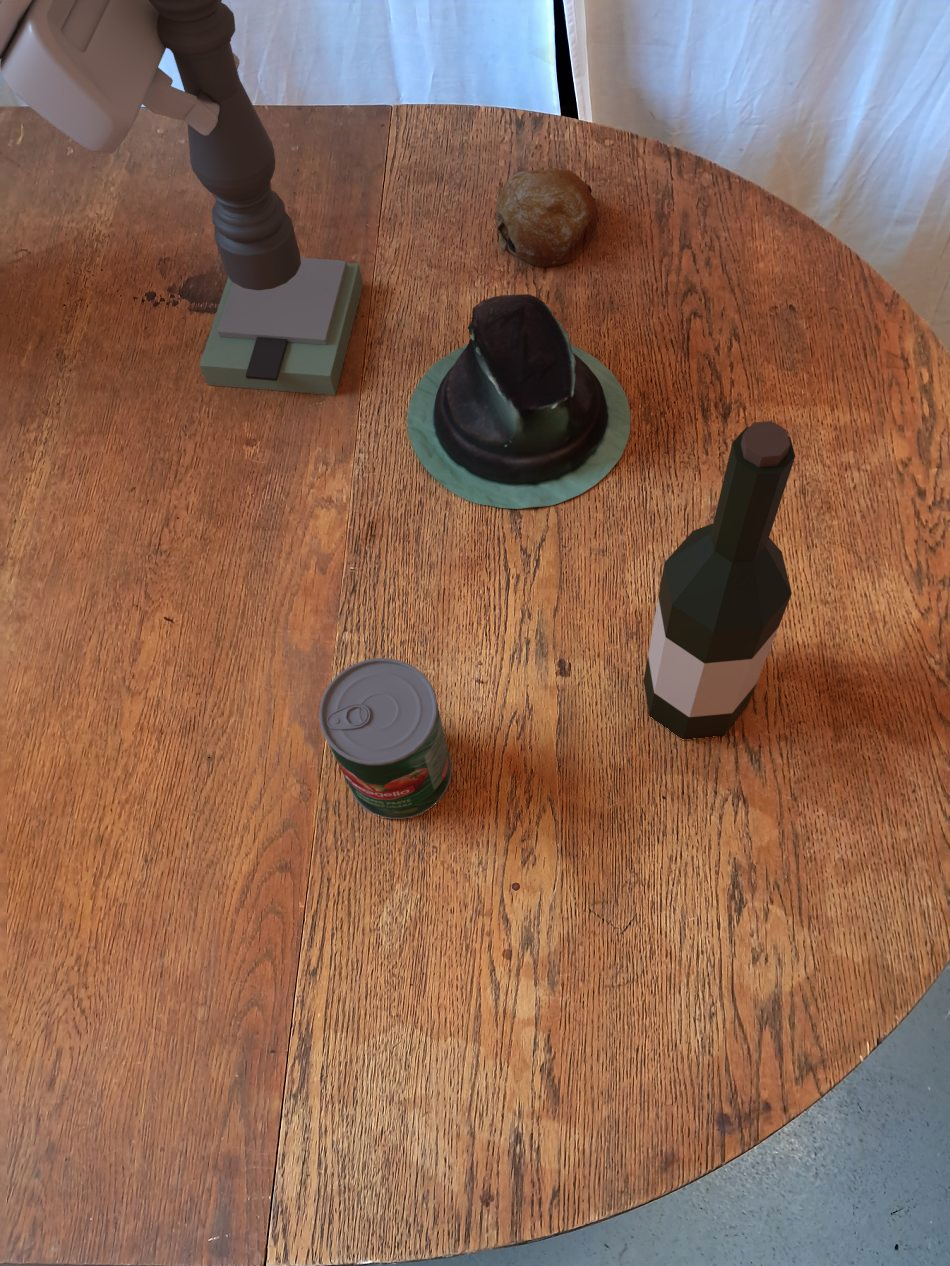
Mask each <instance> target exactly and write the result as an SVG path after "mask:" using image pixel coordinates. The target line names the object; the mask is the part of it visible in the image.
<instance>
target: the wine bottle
mask: <svg viewBox="0 0 950 1266" xmlns="http://www.w3.org/2000/svg"><path fill="white" fill-rule="evenodd" d="M795 459H796V453H795V448H794V446H793V442H792V437H791V436H789V433H788V430H787V429H786V428H785V427H783V426H781V425H779V424H777V423H776V422H774V421H773V420H766V421H755V422H752V423H751V424H750V426H746V427H744V429H743V430H742V431H741V432H740V434H738V436H737V437H735V439H734V440H732V443H731V446H730V451H729V455H728V459H727V464H726V467H725V472H724V476H723V479H722V484H721V487H720V493H719V497H718V500H717V505H716V509H715V513H714V518H713V522H712V523H710V524H707V525H705V526H702V527H699V528H696V529H694V530H692V531H691V532H690V533H689V535H687V537H686V538H685V539H684V540H683V541H682V543H680V545H679V546H678V547H677V548H676V549H675V550H674V551H673V552H672V553H671V554H670V556H669V557H668V558H667V559H666V560H665V561H664V563H663V567H662V568H663V569H662V574H661V580H660V584H659V585H660V586H659V590H658V591H659V592H658V597H657V603H656V606H655V607H656V608H655V613H654V619H653V625H652V631H651V637H650V642H649V646H648V647H649V648H648V654H647V657H646V658H647V659H646V665H645V669H644V676H643V686H645V687H644V691H645V698H647V699H646V705H647V704H648V705H647V710H649V711H648V717H649V716H650V717H652V718H653V719H654V720H653V719H652V718H651V719H652V720H653V721H655V722H656V721H657V722H659V723H660V724H662V725H663V726H664V727H663V726H662V725H661V726H662V727H663V728H665V727H666V728H668V729H669V730H670V731H671V732H670V731H669V730H668V731H669V732H670V733H672V732H673V733H674V734H676V735H677V736H678V737H677V736H676V735H675V736H676V737H677V738H679V737H680V738H682V739H691V740H694V739H693V738H702V739H706V738H705V737H712V738H714V737H713V736H722V737H724V736H725V735H727V733H728V732H729V730H730V729H731V728H732V727H733V726H734V724H735V723H736V722H737V721H738V719H739V718H740V717H741V716H742V715H743V713H744V712H745V711H746V710H747V708H748V706H749V704H750V701H751V699H752V696H753V693H754V690H755V688H756V686H757V683H758V681H759V678H760V676H761V673H762V671H763V667H764V665H765V663H766V661H767V658H768V655H769V652H770V650H771V648H772V645H773V643H774V640H775V638H776V635H777V632H778V629H779V628H780V625H781V622H782V620H783V617H784V616H785V615H784V614H785V613H786V609H787V607H788V604H789V602H790V599H791V597H792V594H793V592H792V588H791V584H790V580H789V576H788V572H787V567H786V564H785V559H784V555H783V551H782V550H781V549H780V548H779V546H778V545H777V544H776V543H775V542H774V540H773V539H771V537H770V535H771V533H772V530H773V527H774V524H775V521H776V517H777V514H778V511H779V508H780V506H781V502H782V498H783V495H784V493H785V489H786V487H787V483H788V480H789V478H790V475H791V471H792V468H793V465H794V463H795ZM744 710H745V711H744ZM743 711H744V712H743ZM742 712H743V713H742ZM740 715H741V716H740ZM739 716H740V717H739ZM650 717H649V718H650ZM738 717H739V718H738ZM735 721H736V722H735ZM657 722H656V723H657ZM659 723H658V724H659ZM660 724H659V725H660ZM731 726H732V727H731ZM666 728H665V729H666ZM727 731H728V732H727ZM726 732H727V733H726ZM673 733H672V734H673ZM674 734H673V735H674ZM680 738H679V739H680ZM682 739H681V740H682Z"/></svg>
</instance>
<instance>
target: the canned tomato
mask: <svg viewBox="0 0 950 1266" xmlns="http://www.w3.org/2000/svg"><path fill="white" fill-rule="evenodd" d="M438 705H439V704H438V699H437V694H436V692H435V690H434V687H433V685H432V683H431V682H430V681H429V679H428V678H427V676H426V675H425V674H424V673H423V672H422V671H420V670H419V669H418V668H416V667H415V666H414V665H412V664H409V663H408V662H405V661H402V660H400V659H394V658H388V657H379V658H378V657H376V658H375V657H374V658H369V659H364V660H362V661H359V662H357V663H353V664H352V665H350V666H348V667H347V668H345V669H343V670H342V671H341V672H340V673H338V674H337V675H336V676H334V678H333V679H332V681H331V682H330V683H329V684H328V686H326V689H325V691H324V693H323V694H322V697H321V701H320V704H319V710H318V711H319V712H318V718H319V726H320V730H321V732H322V735H323V737H324V738H325V740H326V742H327V743H328V746H329V749H330V751H331V752H332V754H333V757H334V758H335V761H336V763H337V765H338V766H339V769H340V770H341V772H342V775H343V776H344V778H345V782H346V783H347V785H348V787H349V789H350V791H351V794H352V796H353V797H354V799H355V800H356V802H357V803H358V804H359V806H361V808H363V809H364V810H365V811H366V812H368V811H369V812H368V813H370V814H371V813H372V814H371V815H373V814H375V815H377V816H376V817H378V815H379V816H380V817H379V818H381V817H384V818H388V819H387V820H390V819H389V818H391V819H405V818H410V819H412V818H411V817H414V818H416V817H415V816H417V815H419V814H422V813H424V812H425V811H426V810H428V809H430V808H431V807H433V806H434V804H435V803H437V802H438V801H439V800H440V799H441V800H442V798H443V797H444V796H445V794H446V793H447V790H448V788H449V786H450V782H451V780H452V775H453V774H452V770H453V769H452V768H453V767H452V766H453V763H452V758H451V755H450V753H449V748H448V743H447V740H446V739H447V738H446V736H445V735H446V734H445V731H444V727H443V723H442V718H441V714H440V710H439V706H438ZM445 792H446V793H445ZM444 793H445V794H444ZM443 795H444V796H443ZM442 796H443V797H442ZM441 797H442V798H441ZM441 800H440V801H441ZM440 801H439V802H440ZM439 802H438V803H439ZM438 803H437V804H438ZM434 807H435V806H434ZM434 807H433V808H434ZM430 810H431V809H430ZM428 811H429V810H428ZM425 813H426V812H425ZM425 813H424V814H425ZM375 815H374V816H375ZM422 815H423V814H422ZM419 816H420V815H419ZM417 817H418V816H417ZM384 818H383V819H384ZM405 820H406V819H405Z"/></svg>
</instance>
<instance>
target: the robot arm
mask: <svg viewBox="0 0 950 1266" xmlns="http://www.w3.org/2000/svg"><path fill="white" fill-rule="evenodd" d="M158 16H159V13H158V11H157V10H156V9H155V7H154V6H153V5H152V4H151V3H150V2H149V0H0V71H1V75H2V79H4V81H5V83H6V85H7V86H8V88H10V89H11V91H12V92H13V93H14V94H15V95H16V96H17V97H18V98H19V99H20V100H21V101H22V102H23V103H24V104H26V105H27V106H28V107H29V108H30V109H32V110H33V111H35V113H37V114H38V115H40V116H41V117H42V118H43V119H44V120H46V121H47V122H48V123H50V124H51V125H52V126H53V127H55V128H56V129H58V130H59V131H60V132H61V133H63V134H64V135H66V136H67V137H69V138H70V139H71V140H73V141H74V142H76V143H77V144H78V145H80V146H81V147H83V148H84V149H87V150H89V151H91V152H94V153H101V154H106V155H107V154H108V155H110V154H111V155H112V154H115V152H116V151H117V150H118V148H119V147H120V146H121V144H122V143H123V142H124V140H125V139H126V137H127V136H128V134H129V133H130V131H131V130H132V128H133V126H134V125H135V122H136V119H137V117H138V115H139V113H140V110H141V108H142V106H144V107H145V108H147V110H149V111H150V112H151V113H153V114H155V115H159V116H163V117H167V118H170V119H175V120H178V121H184V122H185V123H186V124H187V125H188V124H189V125H190V126H191V127H193V128H194V129H195V130H196V131H198V132H199V133H200V134H202V135H209V134H210V133H211V131H212V130H213V129H214V128H215V126H216V124H217V122H218V119H219V116H220V113H221V108H220V106H219V104H217V103H216V102H215V101H212V100H211V99H210V97H209V96H208V95H207V94H205V93H204V92H203V91H202V90H200V91H199V93H198V94H197V95H196V96H194V95H192V94H189V93H187V92H185V91H184V90H181V89H179V88H177V87H174V86H172V85H173V82H174V80H173V78H172V77H171V76H169V74H167V73H166V72H164V71H163V70H162V69H161V68H160V67H159V66H160V64H161V61H162V59H163V57H164V55H165V52H166V50H167V48H166V47H164V45H163V44H162V42H161V40H160V38H159V36H158V32H157V20H158ZM233 55H234V59H235V63H236V67H237V70H238V69H239V66H240V59H239V56H238V55H236V54H235V53H234V52H233Z"/></svg>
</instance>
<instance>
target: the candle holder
mask: <svg viewBox="0 0 950 1266" xmlns="http://www.w3.org/2000/svg"><path fill="white" fill-rule="evenodd" d="M149 2H150V3H151V4H152V5H153V6H154V7H155V9H156V10H157V11H158V13H159V16H158V20H157V32H158V36H159V38H160V40H161V42H162V44H163V45H164V47H166V49H167V50H170V52H171V53H172V55H173V58H174V59H173V60H174V62H175V65H176V68H177V72H178V74H179V78H180V81H181V85H182V87H183V91H184V92H187V93H189V94H192V95H194V96H196V95H197V94H198V93H199V91H200V90H202V91H203V92H204V93H205V94H207V95H208V96H209V97H210V99H211V100H212V101H215V102H216V103H217V104H219V106H220V108H221V113H220V116H219V119H218V122H217V124H216V126H215V128H214V129H213V130H212V131H211V133H210V134H209V135H202V134H200V133H199V132H198V131H196V130H195V129H194V128H193V127H191V126H190V125H189V124H188V123H187V135H188V147H189V148H188V149H189V163H190V167H191V169H192V172H193V173H194V175H195V176H196V178H197V179H198V180H199V182H200V184H202V186H203V188H204V189H206V190H207V191H208V192H209V193H211V194H212V197H213V198H214V199H215V201H214V204H213V207H212V209H211V220H212V221H211V222H212V224H213V226H214V227H213V232H214V241H215V245H216V247H217V251H218V253H219V256H220V259H221V263H222V266H223V268H224V271H225V274H226V276H227V278H228V277H229V278H230V279H231V281H232V282H233V283H235V284H237V285H239V286H240V287H242V288H245V289H251V290H266V289H273V288H276V287H278V286H280V285H283V284H285V283H287V282H288V281H289V280H290V279H291V278H293V277H294V276H295V275H296V274H297V272H298V269H299V267H300V265H301V259H300V257H301V252H300V248H299V245H298V244H299V243H298V240H297V236H296V232H295V228H294V224H293V219H292V218H291V216H290V215H289V214H288V212H287V211H286V205H285V202H284V200H283V199H282V197H280V196H279V194H278V193H277V192H276V191H274V190H273V189H272V183H271V181H272V179H273V176H274V173H275V170H276V155H275V148H274V144H273V142H272V140H271V138H270V136H269V134H268V132H267V130H266V128H265V126H264V125H263V122H262V120H261V118H260V117H259V114H258V113H257V110H256V109H255V107H254V105H253V103H252V101H251V99H250V96H249V94H248V93H247V91H246V88H245V87H244V85H243V83H242V81H241V79H240V74H239V71H238V69H237V67H236V63H235V59H234V55H233V53H234V52H233V48H232V44H231V42H232V38H233V36H234V34H235V33H236V21H235V14H234V11H233V10H231V8H229V6H228V5H227V4H225V3H223V0H149Z"/></svg>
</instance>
